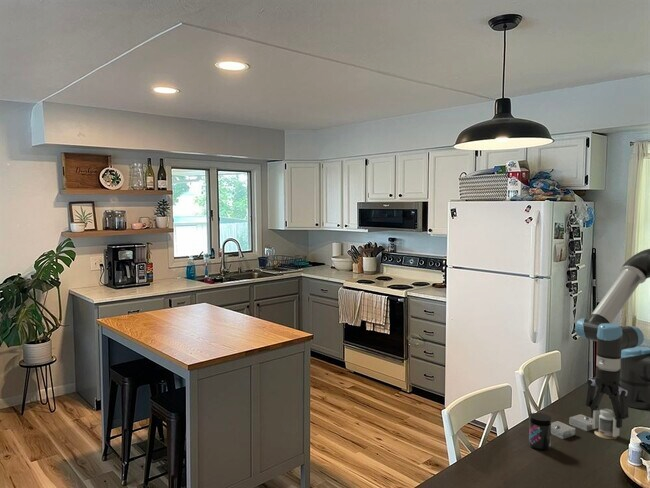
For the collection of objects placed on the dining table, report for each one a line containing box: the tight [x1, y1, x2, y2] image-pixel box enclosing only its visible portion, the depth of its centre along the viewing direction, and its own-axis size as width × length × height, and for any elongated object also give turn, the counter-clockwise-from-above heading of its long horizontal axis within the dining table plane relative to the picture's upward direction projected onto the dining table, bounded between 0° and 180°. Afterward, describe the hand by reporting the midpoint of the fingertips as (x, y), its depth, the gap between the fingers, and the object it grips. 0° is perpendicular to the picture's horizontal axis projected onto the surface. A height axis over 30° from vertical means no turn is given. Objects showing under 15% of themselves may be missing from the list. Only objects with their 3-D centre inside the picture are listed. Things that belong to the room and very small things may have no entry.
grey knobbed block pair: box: [551, 414, 594, 440], centre depth 180 cm, size 20×7×3 cm, turn 118°
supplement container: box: [528, 412, 552, 452], centre depth 166 cm, size 7×7×10 cm
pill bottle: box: [598, 407, 615, 436], centre depth 175 cm, size 5×5×8 cm
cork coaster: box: [594, 429, 618, 440], centre depth 175 cm, size 7×7×1 cm
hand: (605, 431), depth 175 cm, fingers open, 7 cm apart
